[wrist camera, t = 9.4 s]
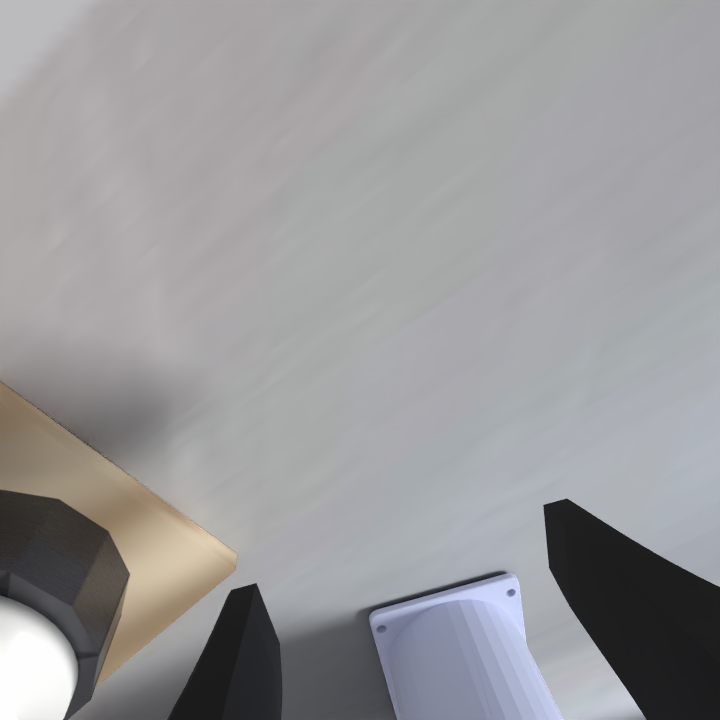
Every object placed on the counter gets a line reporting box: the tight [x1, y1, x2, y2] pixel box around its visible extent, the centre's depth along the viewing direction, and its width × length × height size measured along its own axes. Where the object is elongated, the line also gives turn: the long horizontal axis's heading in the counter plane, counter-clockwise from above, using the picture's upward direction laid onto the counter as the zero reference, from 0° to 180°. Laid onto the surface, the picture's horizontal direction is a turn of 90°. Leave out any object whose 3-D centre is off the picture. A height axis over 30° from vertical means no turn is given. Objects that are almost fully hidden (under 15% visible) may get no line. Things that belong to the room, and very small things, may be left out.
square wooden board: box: [0, 382, 237, 687], centre depth 22 cm, size 13×13×1 cm
